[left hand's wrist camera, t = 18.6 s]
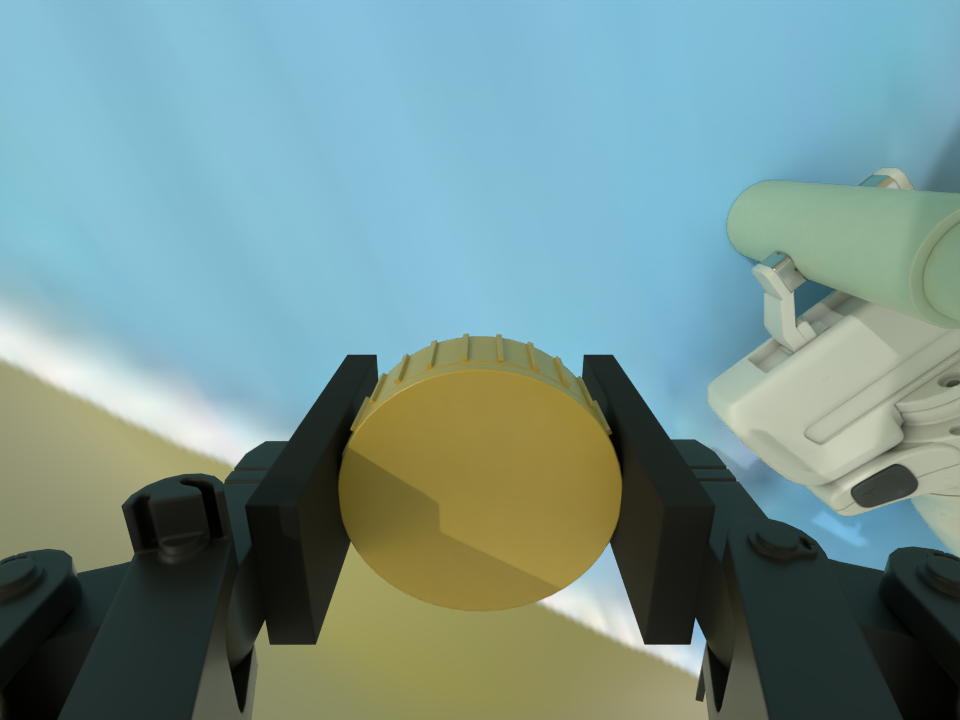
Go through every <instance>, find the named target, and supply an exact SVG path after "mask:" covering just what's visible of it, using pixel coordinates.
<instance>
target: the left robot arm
mask: <svg viewBox="0 0 960 720" xmlns="http://www.w3.org/2000/svg"><path fill="white" fill-rule="evenodd" d="M582 379H583V381H584V383H585V385H586V388H587V390H588V392H589V394H590V396H591V398H592V400H593V401H595V400H596V401H597V403H598V405H599V407H600V409H601V411H602V413H603V415H604V417H605V419H606V421H607V423H608V426H609V428H610V430H611V432H612V434H611V435H609V438H610V440H611V442H612V444H613V446H614V448H615V451H616V454H617V457H618V460H619V463H620V468H621V474H622V479H623V482H622V496H621V505H620V513H619V519H618V522H617V526H616V528H615V531H614V533H613V535H612V537H611V539H610V544H611V547H612V550H613V553H614V556H615V559H616V562H617V565H618V568H619V571H620V574H621V577H622V579H623V582H624V585H625V588H626V591H627V594H628V597H629V600H630V603H631V606H632V609H633V612H634V615H635V618H636V621H637V624H638V627H639V629H640V632H641V635H642V638H643V641H644V644H645V645H690V644H691V639H692V633H693V628H694V622H695V617H696V619H697V621H698V624H699V626H700V628H701V630H702V632H703V634H704V636H705V638H706V646H705V651H704V656H703V661H702V666H701V671H700V676H699V681H698V687H697V693H696V700H698V701H702V702H703V699H704V694H705V691H706V699H707V708H708V716H709V720H960V558H959V557H957V556H955V555H952V554H949V553H944V552H943V551H938V550H934V549H927V548H920V547H905V548H898V549H896V550H895V551H894V552H892V553H891V554H890V555H889V558H888V561H887V564H886V567H885V570H884V571H882V570H877V569H872V568H867V567H862V566H858V565H853V564H848V563H843V562H839V561H835V560H831V559H828V558H827V555H826V553H825V552H824V551H823V549H822V548H821V547H820V545H819V544H818V543H817V541H815V540H814V539H813V538H811V537H810V536H808V535H807V534H806V533H804V532H803V531H801V530H799V529H797V528H795V527H793V526H790V525H788V524H786V523H783V522H779V521H776V520H772V519H768V518H767V516H766V515H765V514H764V513H763V511H762V510H761V509H760V508H759V506H758V505H757V504H756V503H755V502H754V500H753V499H752V498H751V497H750V495H749V494H748V493H747V492H746V490H745V489H744V488H743V487H742V485H741V484H740V483H739V482H736V478H735V477H734V475H733V474H732V473H731V472H730V470H729V469H726V465H725V464H724V463H723V462H722V461H721V459H720V458H719V457H718V456H717V454H716V453H715V452H714V451H712V450H711V449H709V448H708V447H706V446H704V445H703V444H701V443H700V442H698V441H696V440H671V439H670V438H669V437H668V435H667V434H666V432H665V431H664V429H663V428H662V426H661V425H660V423H659V422H658V420H657V419H656V417H655V416H654V415H653V413H652V412H651V410H650V409H649V407H648V406H647V404H646V403H645V401H644V400H643V398H642V397H641V396H640V394H639V393H638V391H637V390H636V388H635V387H634V385H633V384H632V382H631V381H630V379H629V378H628V376H627V375H626V374H625V372H624V371H623V369H622V368H621V366H620V365H619V363H618V362H617V360H616V359H615V357H614V356H613V355H584V359H583V373H582ZM377 383H378V369H377V355H347V356H346V358H345V359H344V361H343V362H342V364H341V365H340V367H339V368H338V370H337V371H336V373H335V374H334V376H333V377H332V378H331V380H330V381H329V383H328V384H327V386H326V387H325V389H324V390H323V392H322V393H321V395H320V396H319V397H318V399H317V400H316V402H315V403H314V405H313V406H312V408H311V409H310V411H309V412H308V414H307V415H306V417H305V418H304V419H303V421H302V422H301V424H300V425H299V427H298V428H297V430H296V431H295V433H294V434H293V436H292V437H291V438H290V440H289V441H265V442H264V443H262V444H261V445H259V446H257V447H256V448H254V449H253V450H251V451H250V452H248V453H246V454H245V456H244V457H243V458H242V459H241V461H240V462H239V463H238V464H237V466H236V467H235V468H234V471H232V472H231V473H230V474H229V476H228V477H227V478H226V480H225V483H224V484H223V482H221V481H220V480H219V479H218V478H216V477H215V476H211V475H206V474H183V475H178V476H174V477H169V478H165V479H162V480H160V481H157V482H155V483H152V484H150V485H147V486H145V487H144V488H142V489H141V490H139V491H137V492H136V493H134V494H133V495H131V496H130V497H129V498H128V499H127V501H126V502H125V503H124V504H123V505H122V509H123V513H124V517H125V520H126V524H127V528H128V531H129V535H130V538H131V542H132V546H133V549H134V553H135V554H134V556H133V559H132V561H130V562H127V563H123V564H119V565H114V566H110V567H105V568H100V569H95V570H90V571H85V572H81V573H77V572H76V569H75V566H74V563H73V560H72V557H71V556H70V555H68V554H67V553H66V552H64V551H61V550H53V549H44V550H37V551H29V552H25V553H20V554H18V555H16V556H15V555H14V556H11V557H8V558H5V559H3V560H1V561H0V720H251V718H252V709H253V701H254V693H255V684H256V676H257V668H258V664H257V657H256V651H255V646H254V642H255V640H256V638H257V636H258V633H259V631H260V629H261V627H262V625H263V623H264V621H265V620H266V626H267V631H268V637H269V642H270V645H315V644H316V642H317V639H318V636H319V633H320V630H321V627H322V624H323V622H324V619H325V616H326V613H327V610H328V607H329V604H330V601H331V598H332V595H333V592H334V589H335V586H336V583H337V580H338V577H339V575H340V572H341V569H342V566H343V563H344V560H345V557H346V554H347V551H348V548H349V545H350V542H351V540H350V538H349V537H348V534H347V532H346V529H345V527H344V524H343V521H342V517H341V510H340V501H339V492H338V477H339V471H340V466H341V462H342V453H343V451H344V449H345V447H346V444H347V442H348V440H349V438H350V436H351V434H352V432H353V431H352V430H350V429H351V427H352V425H353V422H354V420H355V418H356V416H357V414H358V412H359V410H360V408H361V406H362V404H363V402H364V400H365V398H366V397H369V398H370V397H371V395H372V393H373V392H374V389H375V387H376V385H377Z"/></svg>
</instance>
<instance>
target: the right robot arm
mask: <svg viewBox="0 0 960 720" xmlns="http://www.w3.org/2000/svg"><path fill="white" fill-rule="evenodd" d="M859 186H864V187H878V188H892V189H906V190H915V189H914V188H913V186H912V184H911V183H910V181H909V179H908V178H907V176H906V175H905V173H904V172H902V171H901V170H899V169H897V168H880V169H879V170H878V171H876V172H875V173H874V174H873V175H871V176H870V177H869V178H867V179H866V180H865V181H864V182H862V183H861V184H860V185H859ZM795 267H796V266H795V264H794V262H793V261H792V260H791V259H790V258H789V257H788V256H787V255H785V254H779V253H778V252H776V251H775V252H773V253H772V254H771V255H769V256H768V257H767V258H765V259H764V260H763V261H761V262H760V263H758V264H757V265H756V266H755V267H753V268H752V269H751V271H752V274H753V275H754V276H755V278H756V279H757V280H758V282H759V283H760V284H761V286H762V287H763V289H764V290H765V291H766V292H765V293H764V326H765V327H766V329H767V330H768V331H769V333H770V334H771V335H772V337H771V338H769V339H768V340H767V341H765V342H764V343H763V344H761V345H760V346H759V347H757V348H756V349H754V350H753V351H752V352H750V353H749V354H748V355H746V356H745V357H744V358H742V359H741V360H740V361H738V362H737V363H736V364H734V365H733V366H731V367H730V368H729V369H727V370H726V371H725V372H723V373H722V374H721V375H719V376H718V377H716V378H715V379H714V380H712V381H711V382H710V383H709V385H708V389H707V404H708V405H709V407H710V408H711V409H712V410H713V411H714V412H715V414H716V415H717V416H718V417H719V418H720V419H721V420H722V421H723V422H724V423H725V425H726V426H727V427H728V428H729V429H730V430H731V431H732V432H733V433H734V434H735V435H736V436H737V437H738V438H739V439H740V440H741V441H742V442H743V443H744V444H745V445H746V446H747V447H748V448H749V449H750V450H751V451H753V452H754V453H755V454H756V455H757V456H758V457H759V458H760V459H762V460H763V461H764V462H765V463H766V464H768V465H769V466H770V467H771V468H772V469H774V470H775V471H776V472H778V473H779V474H780V475H782V476H783V477H785V478H787V479H788V480H790V481H792V482H795V483H798V484H801V485H804V486H805V487H806V488H807V489H808V490H809V491H810V492H811V493H813V494H814V495H815V496H816V497H817V498H818V499H820V500H821V501H822V502H823V503H825V504H826V505H827V506H828V507H830V508H831V509H833V510H834V511H835V512H837V513H838V514H840V515H842V516H854V515H858V514H861V513H864V512H867V511H870V510H873V509H876V508H879V507H882V506H885V505H888V504H891V503H895V502H898V501H901V500H905V499H909V498H911V501H912V503H913V505H914V507H915V509H916V510H917V511H918V513H919V514H920V516H921V517H922V518H923V520H924V521H925V522H926V524H927V525H928V526H929V528H930V529H931V530H932V531H933V532H934V534H935V535H936V536H937V537H938V538H939V539H940V541H941V542H942V543H943V544H944V545H945V546H946V547H947V548H948V549H949V550H950V551H951V552H952V554H953V555H955V556H957V557H959V558H960V329H956V330H953V329H945V328H941V327H937V326H935V325H932V324H929V323H926V322H924V321H921V320H918V319H915V318H913V317H910V316H907V315H904V314H902V313H899V312H896V311H894V310H891V309H888V308H885V307H883V306H880V305H877V304H874V303H872V302H869V301H866V300H863V299H861V298H858V297H855V296H853V295H850V294H847V293H844V292H842V291H839V290H834V291H833V292H832V293H830V294H829V295H827V296H826V297H825V298H823V299H822V300H821V301H819V302H818V303H817V304H815V305H814V306H813V307H811V308H810V309H809V310H807V311H806V312H804V313H803V314H802V315H800V316H799V317H797V316H795V304H794V292H793V291H794V290H796V289H797V288H798V287H799V286H801V285H802V284H803V283H805V282H806V279H805V278H804V276H803V275H802V274H801V273H800V271H797V270H795Z"/></svg>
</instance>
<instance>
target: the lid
mask: <svg viewBox="0 0 960 720" xmlns="http://www.w3.org/2000/svg"><path fill="white" fill-rule="evenodd" d="M350 430H352V431H353V432H352V434H351V436H350V438H349V440H348V442H347V444H346V447H345V449H344V451H343V453H342V462H341V466H340V471H339V477H338V492H339V501H340V510H341V517H342V521H343V524H344V527H345V529H346V532H347V534H348V537H349V538H350V540H351V542H352V543H353V545H354V547H355V549H356V550H357V552H358V553H359V554H360V556H361V557H362V558H363V560H364V561H365V562H366V563H367V564H368V565H369V566H370V567H371V568H372V569H373V570H374V571H375V572H376V573H377V574H378V575H379V576H380V577H382V578H383V579H384V580H386V581H387V582H388V583H389V584H391V585H392V586H394V587H396V588H397V589H399V590H400V591H402V592H404V593H406V594H408V595H410V596H412V597H414V598H416V599H419V600H422V601H424V602H427V603H430V604H433V605H436V606H441V607H445V608H450V609H456V610H464V611H496V610H505V609H510V608H516V607H520V606H524V605H527V604H530V603H534V602H537V601H539V600H541V599H544V598H546V597H549V596H551V595H553V594H555V593H556V592H558V591H560V590H562V589H564V588H565V587H567V586H568V585H570V584H571V583H572V582H574V581H575V580H577V579H578V578H579V577H580V576H581V575H582V574H584V573H585V572H586V571H587V570H588V569H589V568H590V567H591V566H592V565H593V564H594V562H595V561H596V560H597V559H598V558H599V557H600V555H601V554H602V552H603V551H604V549H605V548H606V546H607V545H608V543H609V541H610V539H611V537H612V535H613V533H614V531H615V528H616V526H617V522H618V519H619V513H620V505H621V496H622V482H623V479H622V474H621V468H620V463H619V460H618V457H617V454H616V451H615V448H614V446H613V444H612V442H611V440H610V438H609V435H611V434H612V432H611V430H610V428H609V426H608V423H607V421H606V419H605V417H604V415H603V413H602V411H601V409H600V407H599V405H598V403H597V401H596V400H595V401H593V400H592V398H591V396H590V394H589V392H588V390H587V388H586V385H585V383H584V381H583V379H582V378H581V377H580V376H579V377H578V378H576V377H575V376H574V375H573V374H572V373H571V371H570V370H569V369H568V368H566V367H565V366H564V365H563V363H562V361H561V359H560V358H559V357H558V356H556V357H555V358H553V357H551V356H550V355H548V354H546V353H545V352H543V351H541V350H539V349H537V348H534V346H533V343H531V342H528V343H527V344H524V343H521V342H517V341H514V340H510V339H504V338H502V335H499V334H496V337H484V336H473V337H469V334H464V335H463V338H456V339H451V340H447V341H443V342H439V343H437V340H435V341H433V342H432V343H431V346H429V347H426V348H424V349H422V350H420V351H418V352H416V353H414V354H412V355H410V356H409V355H408V354H406V355H404V356H403V359H402V361H401V363H399V364H398V365H396V366H395V367H394V368H393V369H392V370H391V371H390V372H389V373H388V374H387V375H386V374H384V373H383V374H382V375H381V376H380V379H379V381H378V383H377V385H376V387H375V389H374V392H373V393H372V395H371V397H370V398H369V397H366V398H365V400H364V402H363V404H362V406H361V408H360V410H359V412H358V414H357V416H356V418H355V420H354V422H353V425H352V427H351V429H350Z"/></svg>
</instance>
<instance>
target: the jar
mask: <svg viewBox="0 0 960 720" xmlns="http://www.w3.org/2000/svg"><path fill="white" fill-rule="evenodd" d="M727 233H728V237H729V240H730V242H731V244H732V246H733V247H734V248H735V249H736V250H737V251H738V252H739V253H740V254H742V255H744V256H746V257H749V258H751V259H754V260H757V261H760V262H761V261H763V260H764V259H765V258H767V257H768V256H769V255H771V254H772V253H773V252H775V251H776V252H778V253H779V254H785V255H787V256H788V257H789V258H790V259H791V260H792V261H793V262H794V264H795V266H796V267H795V270H797V271H800V273H801V274H802V275H803V276H804V278H806V279H809V280H812V281H814V282H817V283H820V284H822V285H825V286H828V287H831V288H833V289H836V290H839V291H842V292H844V293H847V294H850V295H853V296H855V297H858V298H861V299H863V300H866V301H869V302H872V303H874V304H877V305H880V306H883V307H885V308H888V309H891V310H894V311H896V312H899V313H902V314H904V315H907V316H910V317H913V318H915V319H918V320H921V321H924V322H926V323H929V324H932V325H935V326H937V327H941V328H945V329H953V330H956V329H960V193H948V192H934V191H920V190H906V189H892V188H878V187H864V186H850V185H836V184H822V183H808V182H794V181H780V180H768V181H763V182H759V183H757V184H755V185H753V186H751V187H749V188H748V189H747V190H745V191H744V192H743V193H742V194H741V195H740V196H739V197H738V198H737V199H736V201H735V202H734V204H733V206H732V208H731V210H730V212H729V216H728V220H727Z"/></svg>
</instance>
